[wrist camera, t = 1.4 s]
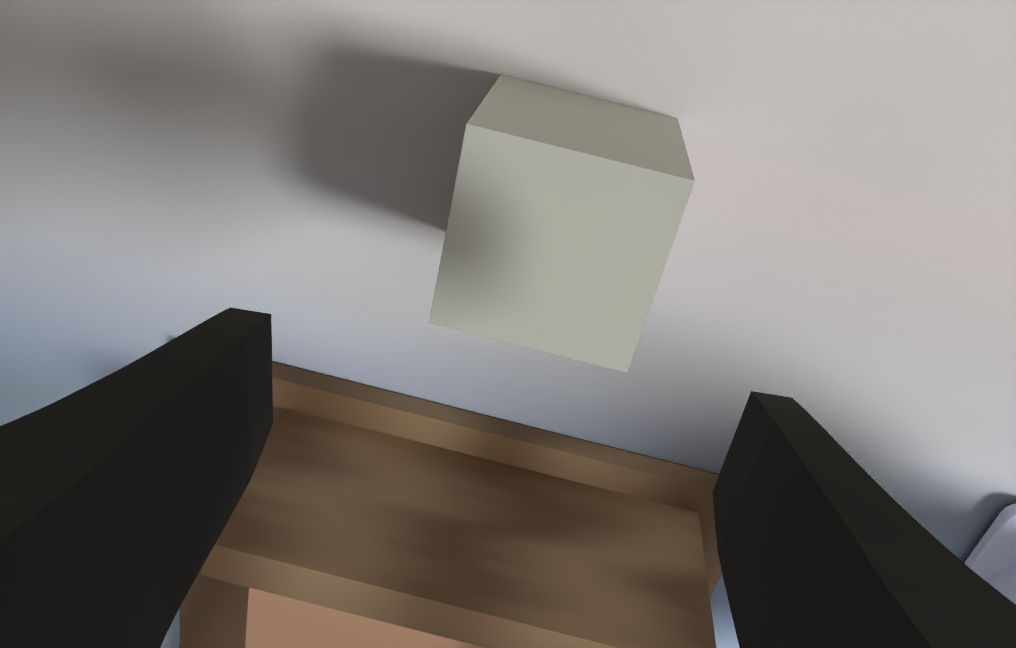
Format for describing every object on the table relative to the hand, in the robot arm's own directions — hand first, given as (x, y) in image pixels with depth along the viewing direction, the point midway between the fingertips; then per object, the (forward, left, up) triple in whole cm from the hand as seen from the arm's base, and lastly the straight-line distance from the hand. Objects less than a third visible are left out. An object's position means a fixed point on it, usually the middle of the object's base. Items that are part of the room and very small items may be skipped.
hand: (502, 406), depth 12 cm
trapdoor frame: (+2, +17, -10) cm, 20 cm away
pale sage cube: (0, 0, -10) cm, 10 cm away
